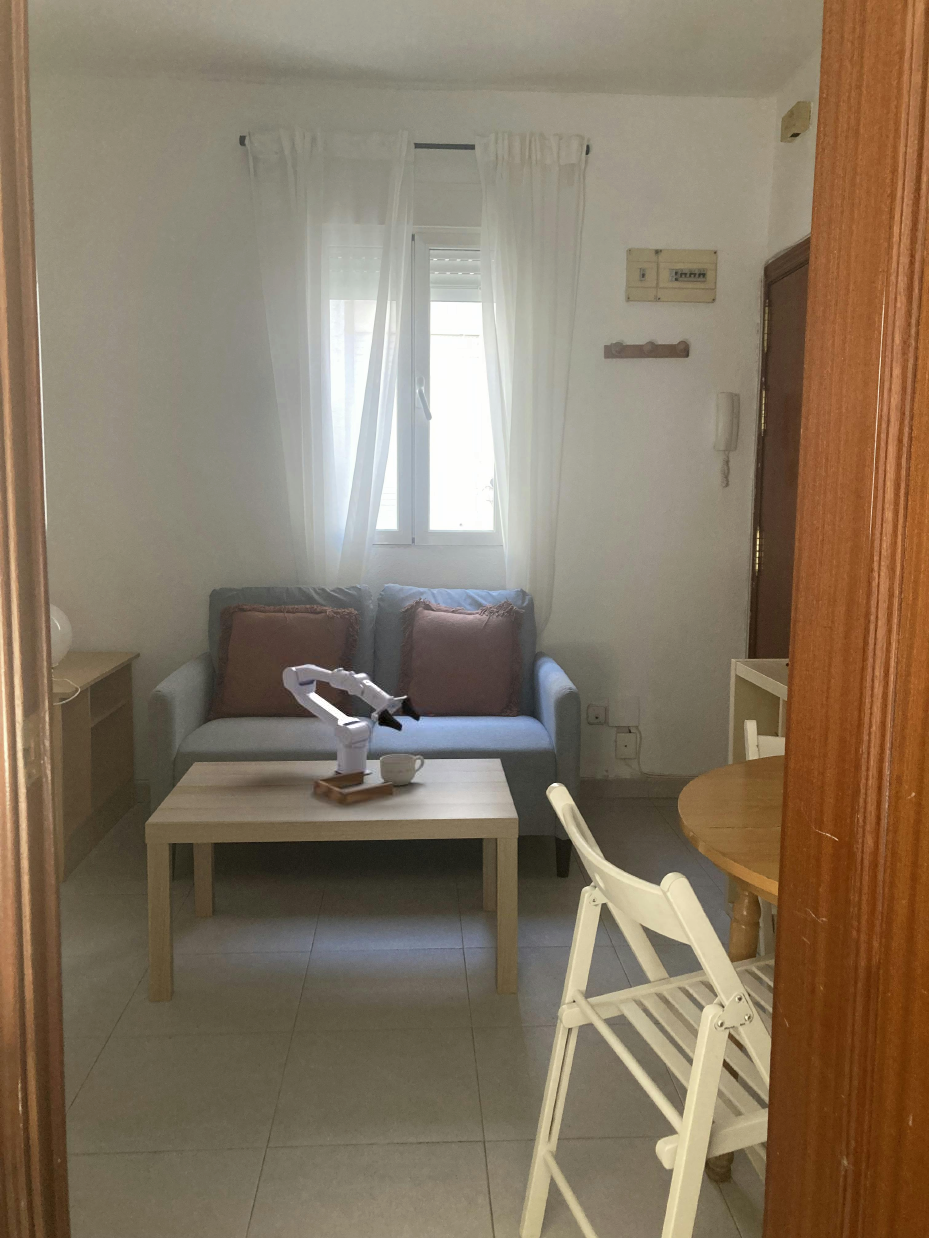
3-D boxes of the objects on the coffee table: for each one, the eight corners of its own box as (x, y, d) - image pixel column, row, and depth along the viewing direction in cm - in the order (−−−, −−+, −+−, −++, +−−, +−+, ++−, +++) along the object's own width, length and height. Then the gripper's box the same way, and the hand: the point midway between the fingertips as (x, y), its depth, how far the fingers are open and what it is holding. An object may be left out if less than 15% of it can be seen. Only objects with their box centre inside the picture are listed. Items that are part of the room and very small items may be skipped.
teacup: (383, 789, 277) (383, 762, 276) (376, 778, 287) (376, 753, 286) (429, 786, 281) (429, 760, 280) (421, 776, 291) (421, 750, 290)
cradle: (313, 791, 273) (313, 779, 273) (361, 781, 284) (361, 770, 284) (344, 805, 261) (344, 793, 261) (393, 794, 272) (393, 783, 271)
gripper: (362, 697, 277) (394, 722, 271) (397, 680, 287) (429, 703, 281) (359, 716, 281) (391, 740, 275) (393, 698, 291) (425, 721, 285)
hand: (410, 723), depth 278 cm, fingers open, 7 cm apart
